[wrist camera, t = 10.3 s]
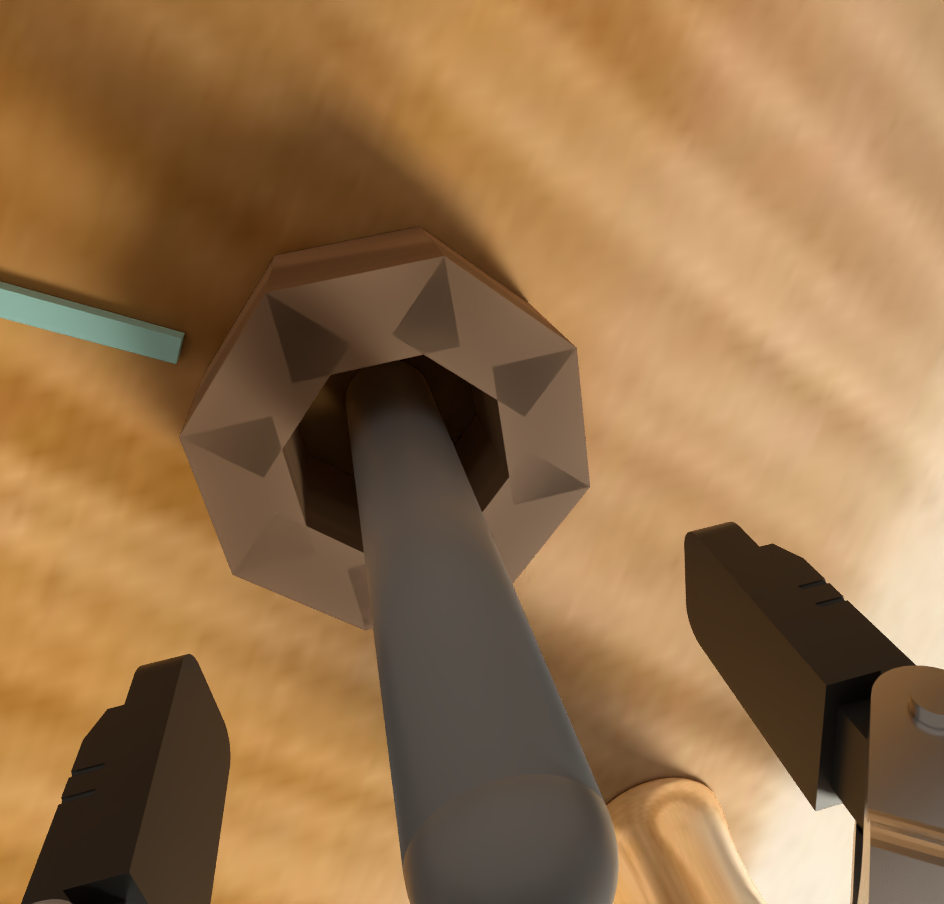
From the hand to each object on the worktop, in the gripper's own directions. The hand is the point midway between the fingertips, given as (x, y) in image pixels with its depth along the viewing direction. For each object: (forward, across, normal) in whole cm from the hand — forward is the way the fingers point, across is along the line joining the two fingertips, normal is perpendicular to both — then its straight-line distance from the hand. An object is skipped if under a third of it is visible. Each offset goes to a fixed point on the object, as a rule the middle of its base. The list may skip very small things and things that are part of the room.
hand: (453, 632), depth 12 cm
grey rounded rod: (+10, 0, 0) cm, 10 cm away
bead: (+10, 0, 0) cm, 10 cm away
